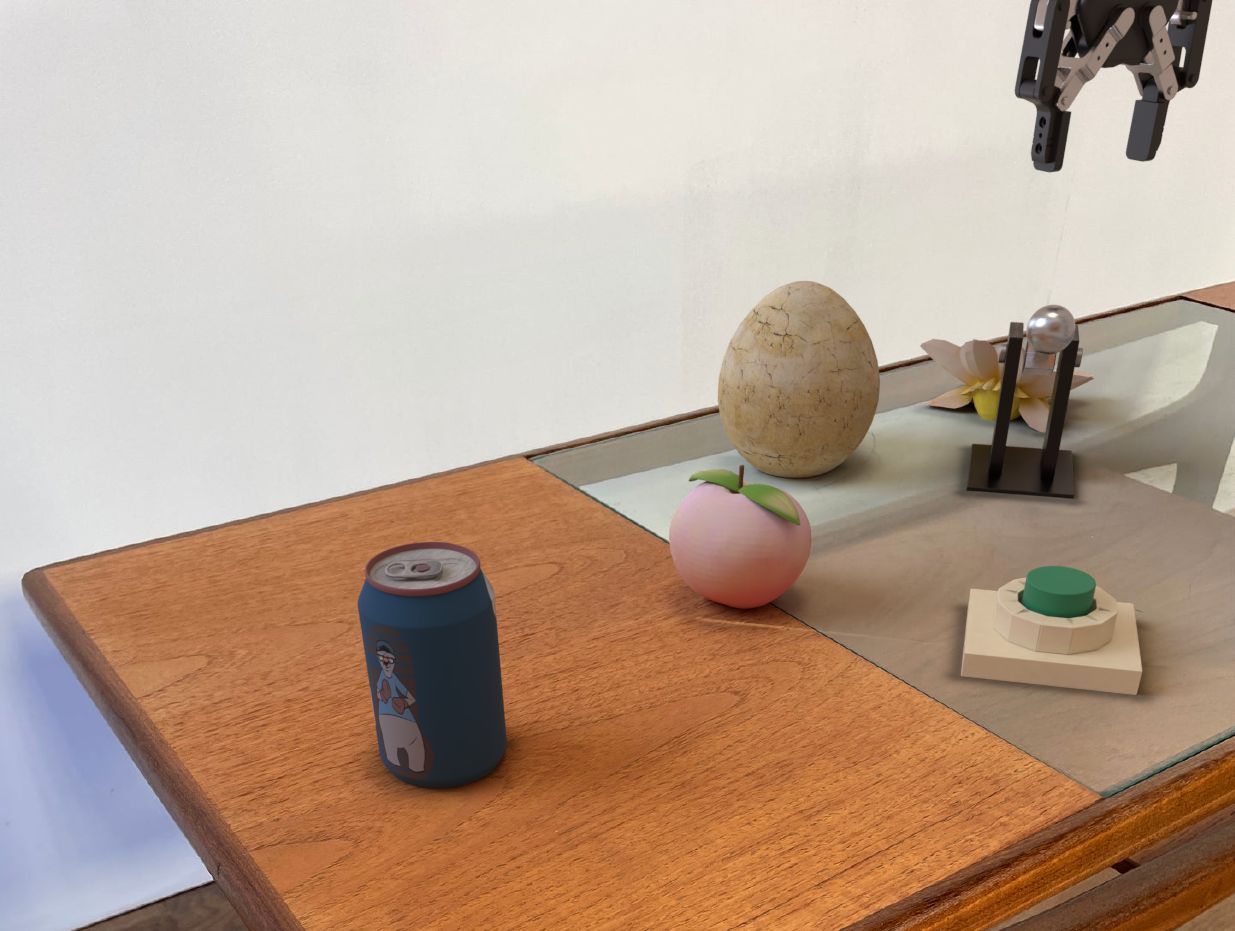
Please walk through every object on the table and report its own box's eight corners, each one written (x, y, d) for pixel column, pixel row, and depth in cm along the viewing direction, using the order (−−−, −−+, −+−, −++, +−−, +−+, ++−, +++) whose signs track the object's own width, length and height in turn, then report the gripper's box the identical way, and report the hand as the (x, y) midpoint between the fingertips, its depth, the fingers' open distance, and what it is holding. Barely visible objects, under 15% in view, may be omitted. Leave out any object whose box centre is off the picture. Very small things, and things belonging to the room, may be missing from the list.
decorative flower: (1129, 398, 114) (1134, 287, 107) (1070, 462, 109) (1071, 350, 102) (976, 379, 123) (972, 276, 116) (915, 437, 118) (906, 333, 111)
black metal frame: (1071, 509, 98) (1102, 352, 92) (964, 501, 100) (987, 346, 93) (1069, 464, 106) (1097, 316, 99) (970, 457, 108) (991, 311, 101)
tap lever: (1073, 351, 86) (1081, 301, 86) (1024, 348, 87) (1031, 299, 86) (1056, 381, 99) (1063, 338, 98) (1014, 379, 99) (1020, 335, 99)
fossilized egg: (686, 484, 104) (689, 290, 96) (761, 438, 113) (770, 256, 104) (828, 515, 99) (845, 312, 90) (895, 464, 107) (916, 274, 98)
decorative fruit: (640, 617, 85) (639, 471, 79) (709, 574, 90) (712, 434, 84) (761, 656, 80) (768, 504, 75) (826, 608, 86) (838, 462, 80)
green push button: (1089, 595, 78) (1095, 568, 77) (1091, 624, 75) (1097, 597, 74) (1022, 589, 79) (1026, 562, 78) (1021, 617, 76) (1026, 590, 75)
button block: (1126, 634, 82) (1140, 576, 79) (1134, 704, 75) (1149, 643, 72) (965, 618, 84) (974, 562, 82) (959, 685, 77) (968, 625, 75)
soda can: (511, 731, 74) (495, 534, 67) (505, 799, 68) (487, 593, 61) (390, 734, 74) (362, 538, 67) (374, 803, 68) (342, 597, 61)
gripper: (1100, -119, 76) (1051, 183, 85) (1273, -123, 81) (1209, 163, 90) (1016, -116, 81) (979, 167, 91) (1182, -120, 86) (1131, 149, 96)
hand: (1094, 165), depth 91 cm, fingers open, 8 cm apart
